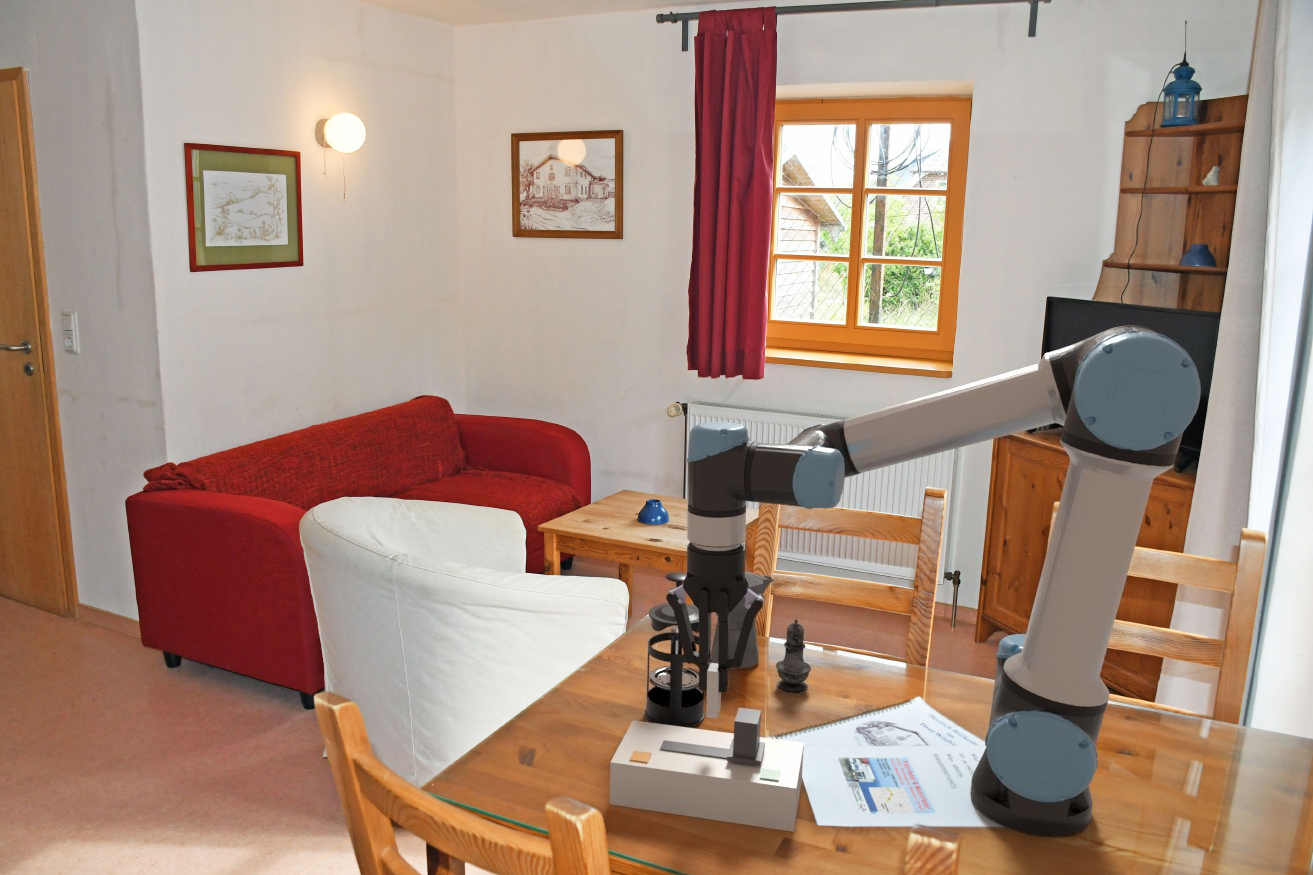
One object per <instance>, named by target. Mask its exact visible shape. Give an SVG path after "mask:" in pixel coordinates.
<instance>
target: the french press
mask: <svg viewBox="0 0 1313 875" xmlns="http://www.w3.org/2000/svg"><path fill="white" fill-rule="evenodd" d="M686 575H687V572H682V571H673V572H669V573H668V574H666V575H665V579H666V580H668V581H670V582H674V583H675V588H677V587H679V586H681V585H683V581H684V579H685V577H686ZM686 606H687V610H688V615H689V619H690V623H691V628H692V632H694V633H698V634H699V609H698V608H697V607H696V606H695V605H693V603H692V604H691V603H686ZM648 616H649V618H650V619H651V624H650V626H651V628H652V630H654V631H655V632H661V631H663V630H666V629H667V628H669V627H673V626H676V627H675V628H672V629H670V630H671V631H667V632H662V633H657V634H655V635H652V636H651V637H650V638H649V639H648V640H647V641H648V642H647V666H646V667H647V670H646V677H647V678H646V706H645V710H644V717H645V719H646V720H647V722H649V723H657V724H664V725H672V726H680V727H687V728H694V727H697V726H698V725H700V724H701V723H703V721H705V719H706V718H705V717H706V713H705V710H704V708H705V691H700V688H699V670H697V669H696V668H695V669H694V668H692V667H688V666H685V665H683V664H685V663H686V664H688V663H687V662H686V660H685V656H684V653H683V648H682V644H681V640H680V635H679V631H678V627H677V623H676V618H675V614H674V611H673V609H672V607H671V606H670V604H669V603H668V602H667V603H666V602H665V603H660V604H657V605H655V606H652V607H651V608H650V609H649V611H648ZM693 636H694V640H695V645H696V646H699V635H696V634H693ZM665 641H670V653H667V652H664V651H660V650H657V649H655V648H653V645H656V644H659V643H661V642H665ZM697 652H699V650H697ZM650 656H651V657H652V658H654V659H656V660H658V661H661V662H667V663H669V665H667V666H666V665H665V666H660V667H657V668H655V669H653V670H652V671H650ZM649 682H650V683H649ZM649 684H651V685H652V687H651V688H650V689H649ZM665 705H669V707H668V706H665ZM682 705H683V706H686V707H682Z"/></svg>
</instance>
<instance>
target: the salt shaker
mask: <svg viewBox="0 0 1313 875" xmlns="http://www.w3.org/2000/svg"><path fill="white" fill-rule="evenodd" d="M798 622H799V621H798V619H797V618H795V619H794V620H793V623H790V624H788V626H787V627H786V641H785V642H784V643H783V645H784V648H785V652H784V653H785V654H784V658H783V659H782V660H779V661H777V663H776V664H775V668H776V669H777V674H778V677H779V678H780V679H781V680H779V681H778V682H777V683H776V688H777V689H778V690H780V691H781V692H784V693H787V694H793V695H794V694H795V695H796V694H803V693H806V692H807V691H808V690H809V686H808V683H806V682H805V681H806V680H807V679H808V678H809V675H810V672H811V671H812V666H811V665H810V664H809V663H807V662H805V661H804V649H805V648H806V644H805V643H804V636H805V628H804V626H803V625H802V624H800V623H798Z"/></svg>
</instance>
